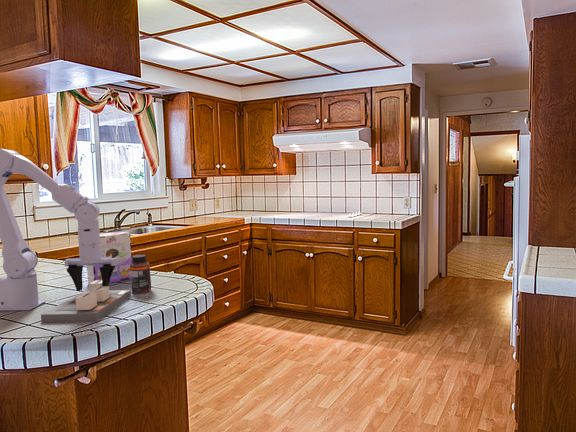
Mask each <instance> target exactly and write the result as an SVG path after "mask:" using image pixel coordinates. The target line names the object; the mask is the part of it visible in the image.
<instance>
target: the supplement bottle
mask: <svg viewBox="0 0 576 432" xmlns="http://www.w3.org/2000/svg"><path fill="white" fill-rule="evenodd" d="M130 277H131V279H130V286H131V287H130V290H131V293H133V294H146V293H148V292H151V290H152V279H151V278H152V277H151V266H150V262H148V260H147V255H146V254H136V255H132V263H131V264H130Z"/></svg>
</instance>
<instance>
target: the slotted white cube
mask: <svg viewBox="0 0 576 432" xmlns="http://www.w3.org/2000/svg"><path fill="white" fill-rule="evenodd" d="M95 306H97V297H96V293H84V294H81V295H79V296H78V297H76V310H90V309H92V308H94V307H95Z"/></svg>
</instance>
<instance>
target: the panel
mask: <svg viewBox="0 0 576 432" xmlns="http://www.w3.org/2000/svg"><path fill="white" fill-rule="evenodd" d="M84 293H90V290H83V291H82V292H80V293H78V294H76V295H75V296H73V297H71V298H68V299H67V300H65V301H64V302H61V303H59V304H57V305H56V306H54V307H52V308H50V309H47V311H45V312H43V313H41V314H40V319H41V323H74V322H75V323H77V322H79V323H81V322H83V323H84V322H90V323H91V322H94V323H95V322H98V321H100V320H101V319H102V318H104V317H105V316H106V315H108V314H109V313H110V312H112V311H113V310H114V309H116V308H117V307H119V306H120V305H122V304H123V303H124V302H126V301H127V300H128V299H130V298H131V297H132V289H120V290H119V289H116V290H115V289H113V290H112V289H111V290H110V289H109V293H110V298H108V299H107V300H105V301H104V302H97V306H95V307H94V308H92V309H90V310H76V297H78V296H79V295H81V294H84Z"/></svg>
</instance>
